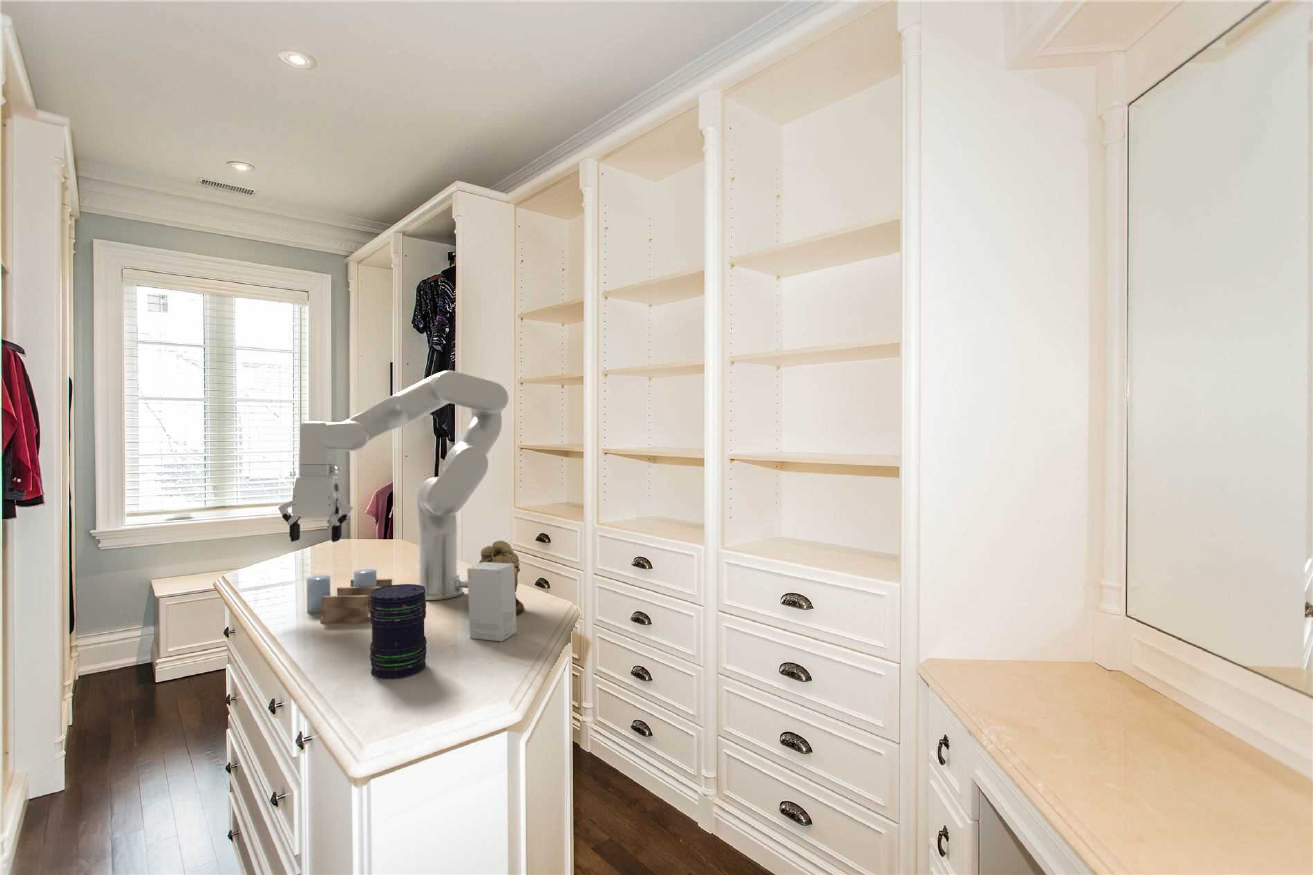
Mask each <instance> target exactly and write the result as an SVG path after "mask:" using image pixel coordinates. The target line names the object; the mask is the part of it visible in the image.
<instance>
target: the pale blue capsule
mask: <svg viewBox="0 0 1313 875" xmlns="http://www.w3.org/2000/svg"><path fill="white" fill-rule="evenodd" d="M353 579H354V587H377V579H378V578H377V569H373V568H365V569H359V570H355V571H353Z"/></svg>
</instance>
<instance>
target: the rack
mask: <svg viewBox="0 0 1313 875" xmlns="http://www.w3.org/2000/svg"><path fill="white" fill-rule="evenodd" d="M390 585H393V578H377V587H354V578H353V579H352V578H351V579H350V586H339V587H337V588H336V592H337V593H336V595H330V596H323V597H322V614H321V615H322V616H321V617H320V620H319V623H320V624H324V623H325V624H327V623H328V624H330V622H331V624H335V623H336V622H339V623H342V624H343V622H345V623H370V606H371V605H370V601H371V598H370V593H371V591H373V590H375V589H377V588H381V587H385V586H390ZM339 623H338V624H339ZM336 624H337V623H336Z"/></svg>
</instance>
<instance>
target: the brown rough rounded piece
mask: <svg viewBox="0 0 1313 875" xmlns="http://www.w3.org/2000/svg"><path fill="white" fill-rule="evenodd" d="M482 562H491V563H511V564H514V574H515V601H516V617H518V616H520V615H522V614H523V613H524V611H525V608H524V603H523V602H521V601H520V600H519V599H518V598H517V594H516V593H517V589H518V588H517V587H518V585H519V580H518V575H519V573H520V571H521V568H520V565H521V564H520V558H519V556H518V554H517V553H515V551H514V550H513V548H512V546H511V544H510V543H508V542H506V541H504V540H497V541H494V542H493V543H492V545H488V546H486V547H483V548H482V549H481V550H480V560H479V562H478V564H480V563H482ZM521 613H522V614H521Z"/></svg>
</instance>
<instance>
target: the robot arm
mask: <svg viewBox="0 0 1313 875" xmlns="http://www.w3.org/2000/svg"><path fill="white" fill-rule="evenodd" d="M508 403H509V394H508V392H507V390H506V388H505V387H504V386H503V385H502V384H500V383H498V382H495V381H493V380H488V379H485V378H482V377H477V376H473V375H469V374H465V373H463V372H458V371H455V370H450V369H449V370H443V371H440V372H436V373H434V374H432V375H430V376H429V377H426V378H424V379H421V381H419V382H417V383H415V384H412V385H410V386H409V387H407V388H405V389H403V390H401V391H399V392H397V393H395V394H393V395H391V396H389V397H387V398H385V399H384V400H382V401H381V402H379V403H377V404H375V405H374V406H372V407H369V408H368V409H365V410H364V411H361V412H360V413H358V414H356V415H353V416H352V417H350V418H348V419H345V420H343V421H340V422H330V421H322V420H321V421H320V420H319V421H318V420H317V421H315V420H311V421H309V420H308V421H307V420H306V421H303V422H302V423H301V424H300V426H299V452H298V454H299V455H298V456H299V458H298V459H299V460H298V463H299V464H298V476H296V478H295V482H294V487H293V490H292V491H293V492H292V499H291V500H290V501H288V502H286V503H284V504H281V505H280V506H278V511H279V513H280V515H281V517H282V518H283V520H284V521H285V522H286V523H287V525H288V526H289V534H288V535H289V538H290V542H293V543H294V542H296V541H299V540H300V538H301V524H300V523H299V521H300V520H301V519H303V518H304V519H329V520H330V521H331V522H332V524H333V525H332V526H331V542H332V543H336V542H338V541H340V539H341V538H342V525H343V524H344V523H345V522H346V521H347V520H348V519H349V518H350V515H352V512H353V510H354V507H353V506H351V505H350V504H348V503H345V502H343V501H341V490H340V484H339V479H338V477H337V476H334V475H335V474H337V473H339V472H340V467H339V466H336V464H334V463H335V462H334V460H335V459H334V458H335V457H334V455H335V450H338V451H346V452H356V451H359V450H360V451H361V450H362V449H364V447H366V446H367V444H368V442H370V441H372V440H373V439H375V438H377V437H379V436H381V435H383V434H385V433H388V432H390V431H392V430H395V429H398V428H402V427H405V426H408V425H410V424H412V423H415V422H416V421H419V420H420V419H422V418H424V417H425V416H427V415H429V414H431V413H433V412H435V411H437V410H439V409H441V408H443V407H444V406H447V405H449V404H453V405H456V406H459V407H464V408H467V409H470V412H471V419H470V422H469V424H468V426H467V427H466V428H465V430H464V432H463V433H462V435H461V436H460V437H459V439H458V440H457V441H456V442H455V444H454V445H453V447H452V448H451V449H450V450H449V451H448V452H447V453H446V455H445V458H444V461H443V463H444V469H443V471H442V472H441V474H440V475H439V476H433V477H430V478H428V479H426V480H425V481H423V482H422V483H421V485H420V486H419V489H418V491H417V496H416V497H417V500H416V501H417V511H418V512H417V513H418V529H419V530H418V531H419V533H418V534H419V535H418V538H419V540H418V543H419V544H418V546H419V547H418V548H419V549H418V552H419V554H418V556H419V558H418V559H419V560H418V561H419V569H418V570H419V585H421V586H424V587H425V601H437V600H438V601H439V600H446V599H451V598H456V597H458V596H460V595H462V594H463V591H464V589H468V579H462V578H460V577H461V576H460V574H458V573H457V571H458V570H457V568H458V566H457V564H458V563H457V561H458V560H457V559H458V558H457V557H458V555H457V553H458V552H457V547H458V546H457V544H458V543H457V542H458V541H457V539H458V538H457V535H458V534H457V532H458V531H457V528H458V527H457V513H459V511H461V509H462V508H463V506H465V504H466V503H467V502H468V500H469V499H470V497H471V496H472V494H473V493H474V492H475V491H476V489H477V488H478V487H479V485H480V483H481V482H482V481H483V480H484V478H485V476H486V474H487V472H488V470H489V459H488V456H487V455H488V453H490V451H491V449H492V448H493V446H494V444H495V443H496V442H497V440H498V438H499V436H500V433H501V430H502V421H503V419H502V411H504V409H505V408H507V405H508ZM290 508H291V513H292V514H291V513H290V512H289V509H290ZM341 510H343V511H344V512H343V514H342V515H341V516H340V514H341Z"/></svg>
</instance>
